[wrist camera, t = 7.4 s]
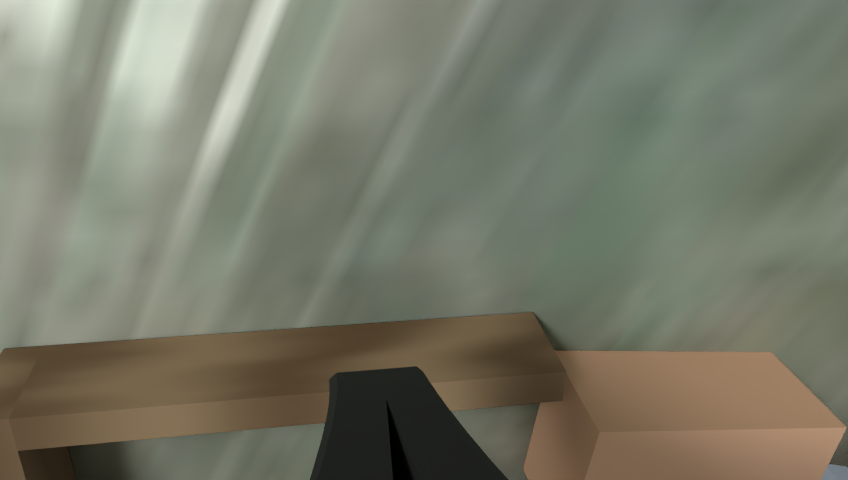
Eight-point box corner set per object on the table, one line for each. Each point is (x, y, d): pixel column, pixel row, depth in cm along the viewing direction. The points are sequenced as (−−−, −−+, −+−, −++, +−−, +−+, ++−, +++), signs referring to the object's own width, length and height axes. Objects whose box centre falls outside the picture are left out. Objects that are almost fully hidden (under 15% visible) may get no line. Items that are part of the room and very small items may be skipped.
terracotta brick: (768, 349, 25) (846, 427, 22) (722, 458, 28) (787, 545, 24) (551, 346, 24) (599, 432, 20) (521, 464, 26) (560, 559, 22)
